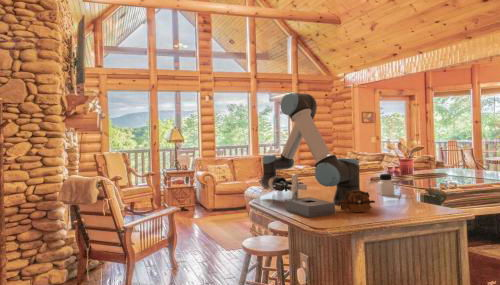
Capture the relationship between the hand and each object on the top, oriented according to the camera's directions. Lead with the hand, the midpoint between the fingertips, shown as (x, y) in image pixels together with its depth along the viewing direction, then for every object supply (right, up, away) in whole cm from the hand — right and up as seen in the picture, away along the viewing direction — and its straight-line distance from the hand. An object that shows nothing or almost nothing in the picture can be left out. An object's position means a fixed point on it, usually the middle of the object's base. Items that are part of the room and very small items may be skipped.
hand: (300, 188), depth 187 cm
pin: (-2, -10, +5) cm, 11 cm away
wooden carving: (+24, -9, -15) cm, 30 cm away
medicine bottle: (+53, -8, +30) cm, 62 cm away
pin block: (+3, -10, -12) cm, 16 cm away
